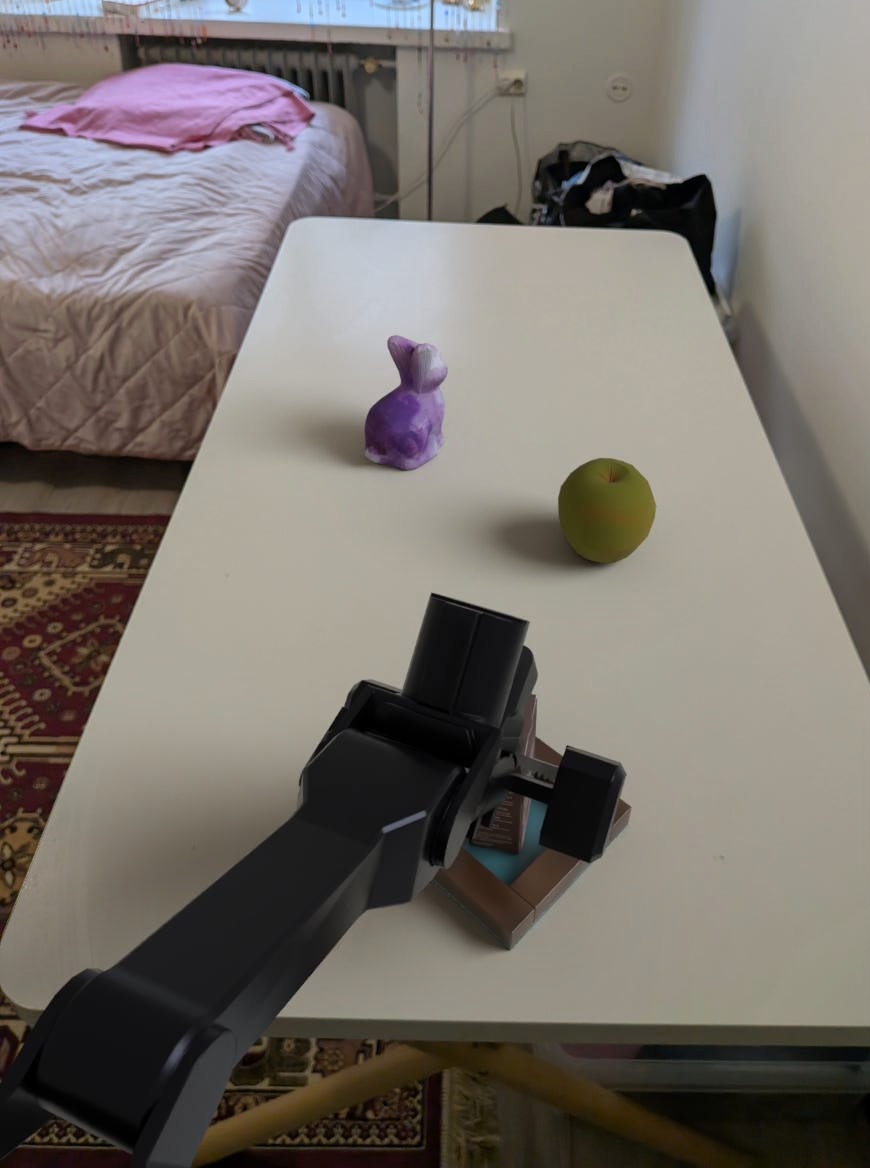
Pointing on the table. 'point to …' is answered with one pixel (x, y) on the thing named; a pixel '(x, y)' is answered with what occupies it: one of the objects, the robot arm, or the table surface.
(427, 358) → the figurine
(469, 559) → the table surface
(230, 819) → the table surface
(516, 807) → the box
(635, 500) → the apple
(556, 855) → the socket
